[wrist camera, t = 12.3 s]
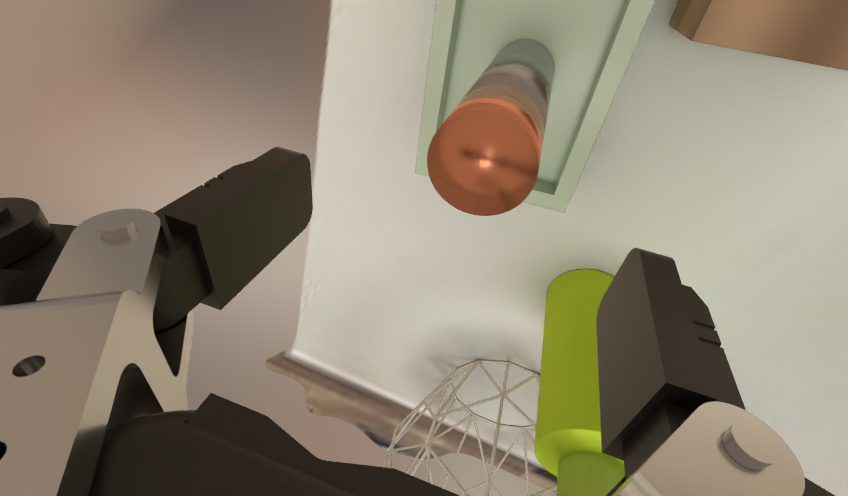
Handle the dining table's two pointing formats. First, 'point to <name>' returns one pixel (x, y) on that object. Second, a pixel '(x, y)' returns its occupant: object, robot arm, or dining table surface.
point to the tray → (573, 78)
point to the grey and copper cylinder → (495, 133)
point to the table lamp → (498, 425)
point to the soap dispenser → (573, 388)
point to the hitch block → (770, 27)
